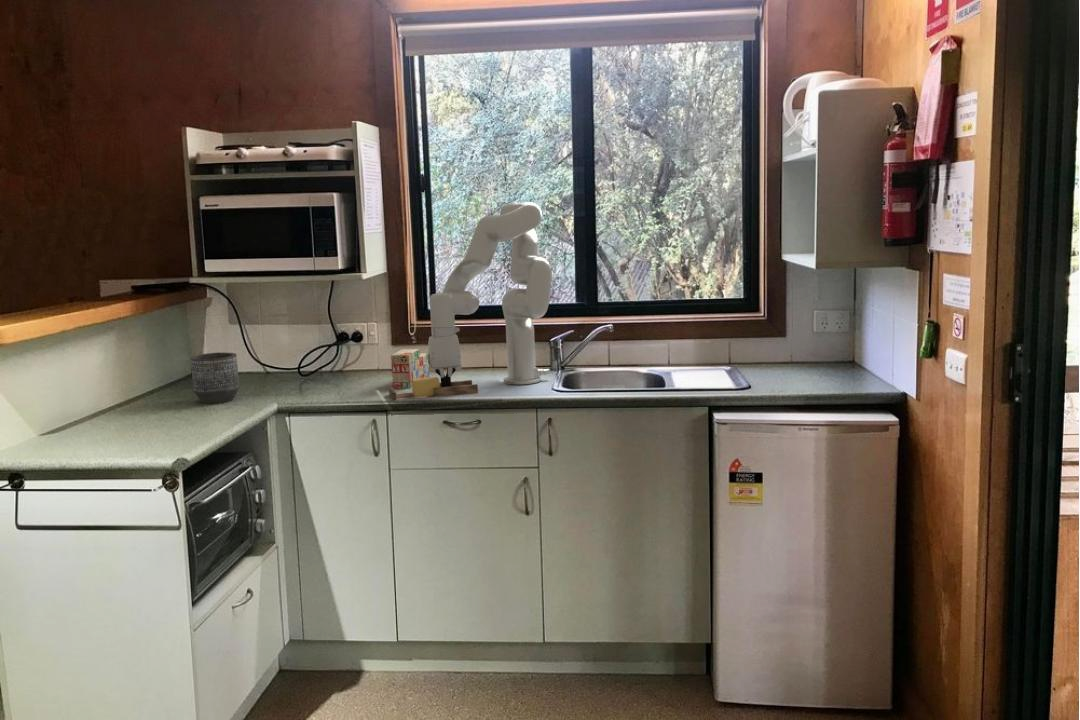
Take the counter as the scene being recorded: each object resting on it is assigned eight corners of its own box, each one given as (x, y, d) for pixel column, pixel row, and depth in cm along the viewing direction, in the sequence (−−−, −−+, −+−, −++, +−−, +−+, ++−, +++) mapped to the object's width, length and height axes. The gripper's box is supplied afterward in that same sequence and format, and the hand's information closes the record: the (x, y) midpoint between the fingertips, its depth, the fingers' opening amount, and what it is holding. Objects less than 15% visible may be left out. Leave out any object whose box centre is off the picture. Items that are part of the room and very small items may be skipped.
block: (437, 391, 305) (436, 376, 304) (440, 394, 300) (439, 379, 299) (412, 394, 303) (411, 378, 302) (415, 397, 298) (414, 381, 297)
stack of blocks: (412, 379, 335) (410, 344, 333) (429, 379, 334) (428, 344, 332) (392, 391, 314) (390, 354, 312) (410, 391, 313) (408, 354, 311)
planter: (214, 407, 298) (209, 360, 295) (185, 403, 305) (180, 357, 303) (249, 398, 310) (245, 353, 307) (221, 395, 317) (217, 351, 315)
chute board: (471, 389, 311) (471, 379, 310) (478, 395, 302) (477, 384, 301) (389, 397, 303) (388, 387, 303) (393, 402, 294) (392, 392, 294)
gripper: (463, 329, 306) (466, 384, 309) (418, 332, 302) (421, 388, 305) (468, 331, 299) (471, 388, 302) (422, 335, 295) (425, 392, 297)
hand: (446, 388), depth 303 cm, fingers closed
